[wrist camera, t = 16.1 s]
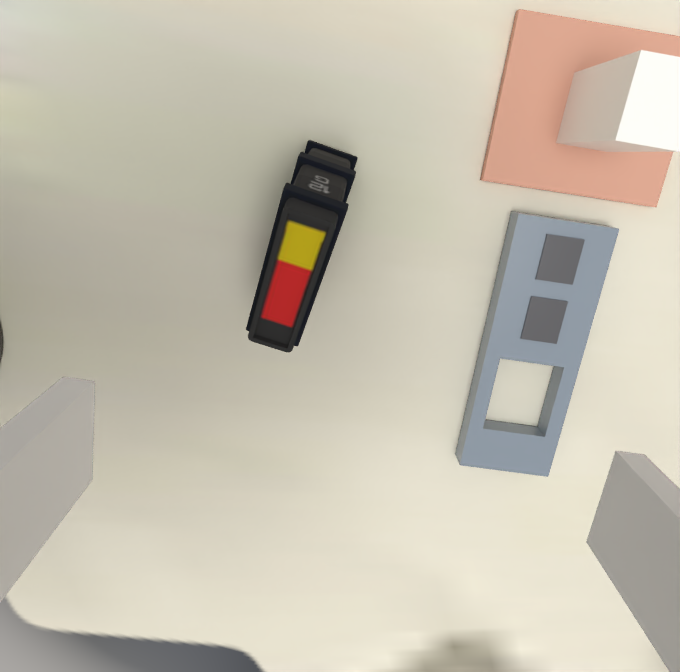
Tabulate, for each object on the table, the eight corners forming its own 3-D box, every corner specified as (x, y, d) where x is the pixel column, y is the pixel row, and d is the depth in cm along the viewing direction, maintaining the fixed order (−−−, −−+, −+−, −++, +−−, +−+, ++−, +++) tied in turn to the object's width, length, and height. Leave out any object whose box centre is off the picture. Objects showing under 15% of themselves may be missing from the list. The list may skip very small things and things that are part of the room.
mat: (480, 180, 46) (482, 180, 46) (516, 11, 43) (519, 9, 42) (651, 206, 47) (656, 207, 46) (700, 42, 43) (706, 40, 43)
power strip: (455, 453, 53) (460, 466, 51) (511, 211, 47) (519, 213, 45) (540, 465, 54) (548, 477, 52) (607, 225, 47) (620, 229, 45)
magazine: (370, 116, 43) (344, 221, 32) (321, 255, 52) (288, 375, 41) (322, 99, 43) (279, 198, 32) (281, 242, 52) (236, 359, 41)
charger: (556, 143, 45) (615, 140, 35) (574, 72, 43) (641, 49, 34) (606, 151, 45) (679, 151, 35) (626, 82, 43) (707, 62, 34)
